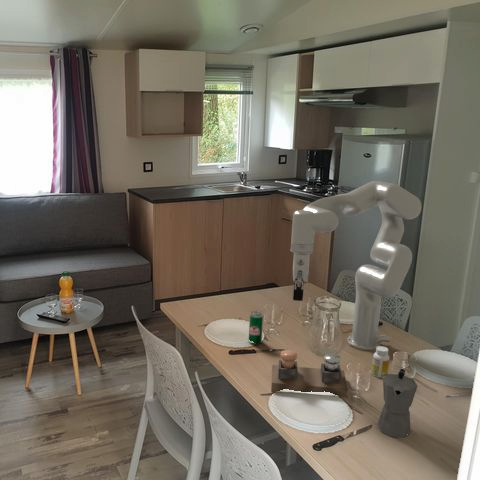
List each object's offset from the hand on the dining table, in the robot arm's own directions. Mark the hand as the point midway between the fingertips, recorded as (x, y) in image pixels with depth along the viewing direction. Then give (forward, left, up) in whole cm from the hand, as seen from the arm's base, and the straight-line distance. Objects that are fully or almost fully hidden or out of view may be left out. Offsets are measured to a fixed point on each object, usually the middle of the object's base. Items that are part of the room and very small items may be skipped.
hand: (298, 295), depth 183 cm
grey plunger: (-12, +14, -20) cm, 27 cm away
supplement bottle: (-30, +3, -26) cm, 40 cm away
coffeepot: (-29, +34, -26) cm, 52 cm away
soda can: (+14, -15, -26) cm, 33 cm away
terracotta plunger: (+2, +14, -20) cm, 24 cm away
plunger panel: (-5, +14, -26) cm, 30 cm away
